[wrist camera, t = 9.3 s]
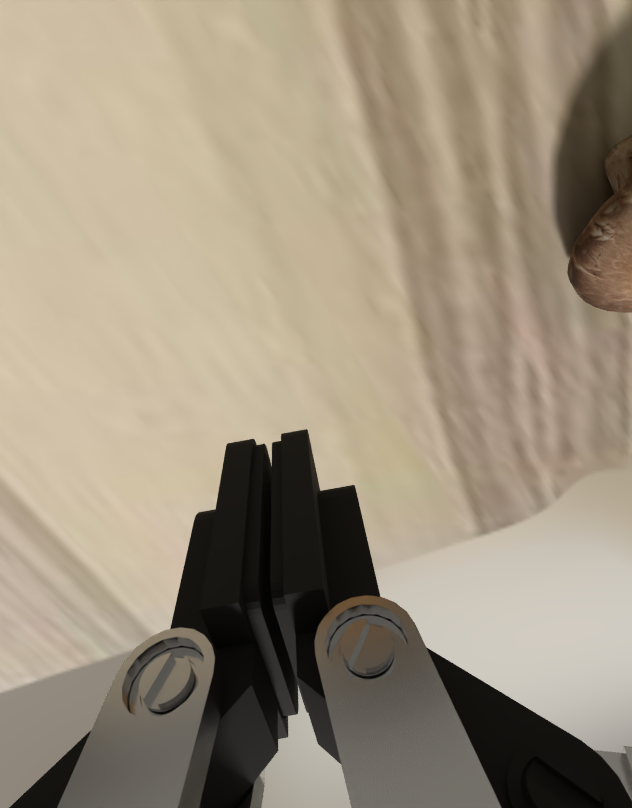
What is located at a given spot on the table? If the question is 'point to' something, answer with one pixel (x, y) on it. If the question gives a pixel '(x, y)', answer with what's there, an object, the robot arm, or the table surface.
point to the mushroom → (608, 241)
